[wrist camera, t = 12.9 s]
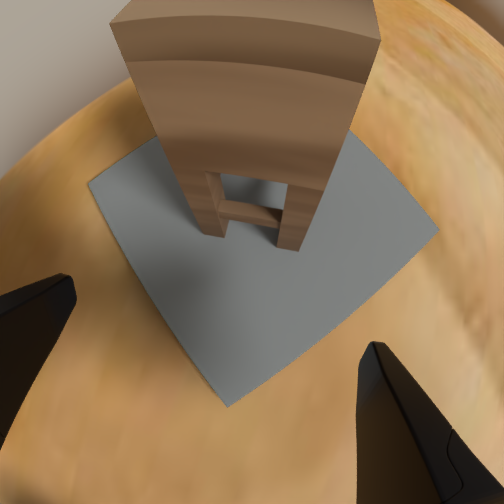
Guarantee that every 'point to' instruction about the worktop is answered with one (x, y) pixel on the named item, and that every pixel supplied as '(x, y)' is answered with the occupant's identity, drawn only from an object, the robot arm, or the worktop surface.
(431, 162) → the worktop surface
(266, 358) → the mat
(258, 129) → the stool
